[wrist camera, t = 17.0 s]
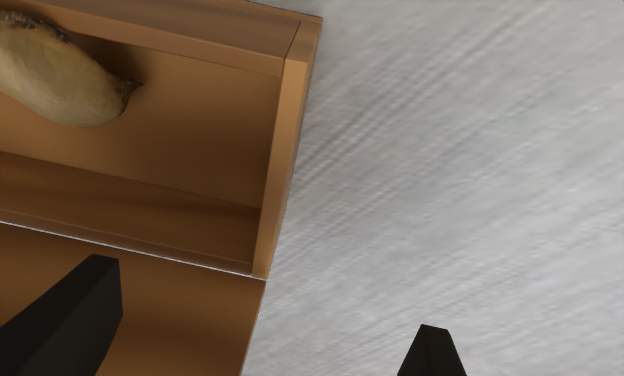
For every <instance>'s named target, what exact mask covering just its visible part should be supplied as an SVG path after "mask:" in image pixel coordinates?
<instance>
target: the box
mask: <svg viewBox="0 0 624 376" xmlns="http://www.w3.org/2000/svg"><path fill="white" fill-rule="evenodd" d="M2 10H4V11H6V12H9V13H11V12H12V11H16V12H19V13H22V14H25V15H28V16H31V17H33V18H36V19H39V20H42V21H44V22H47V23H50V24H53V25H54V26H55V27H57V28H58V29H59V30H60V31H61V32H63V33H65V34H67V35H68V36H69V37H70V38H71V39H72V40H73V41H74V43H75V44H76V46H77V47H78V48H80V49H82V50H83V51H85V52H87V53H88V54H89V56H90V58H91V60H92V61H93V60H94V59H97V60H99V61H100V62H101V64H102V65H103V66H104V67H105V68H106V71H107V72H116V73H119V76H120V78H124V77H125V78H134V79H135V81H139V82H142V83H143V84H144V86H140V87H137V90H134V91H132V92H131V95H130V97H129V101H128V105H127V107H126V109H125V111H124V112H123V114H122V115H120V116H118V117H116V118H115V119H113V120H111V121H109V122H107V123H105V124H103V125H101V126H99V127H95V128H84V127H71V126H67V125H61V124H57V123H55V122H53V121H50V120H48V119H46V118H44V117H42V116H40V115H38V114H37V113H35V112H33V111H32V110H30V109H29V108H27V107H26V106H24V105H23V104H21V103H20V102H18V101H17V100H15V99H13V98H12V97H10V96H8V95H6V94H4V93H2V92H0V221H4V222H8V223H13V224H17V225H22V226H26V227H31V228H36V229H40V230H45V231H49V232H54V233H58V234H63V235H67V236H72V237H77V238H81V239H86V240H90V241H95V242H99V243H104V244H108V245H113V246H117V247H122V248H127V249H131V250H136V251H140V252H145V253H149V254H154V255H158V256H163V257H167V258H172V259H177V260H181V261H186V262H190V263H195V264H199V265H204V266H208V267H213V268H218V269H222V270H227V271H231V272H236V273H240V274H245V275H250V274H251V276H253V277H257V278H262V279H268V276H269V272H270V268H271V264H272V261H273V257H274V253H275V249H276V245H277V242H278V238H279V234H280V230H281V226H282V223H283V219H284V215H285V210H286V205H287V200H288V195H289V189H290V184H291V179H292V174H293V169H294V164H295V159H296V154H297V149H298V144H299V139H300V133H301V128H302V123H303V118H304V113H305V108H306V103H307V98H308V93H309V88H310V82H311V77H312V72H313V67H314V62H315V57H316V52H317V47H318V42H319V37H320V32H321V26H322V21H323V19H322V18H319V17H314V16H310V15H306V14H301V13H297V12H292V11H288V10H283V9H279V8H275V7H270V6H266V5H261V4H257V3H252V2H248V1H243V0H0V12H1V11H2Z"/></svg>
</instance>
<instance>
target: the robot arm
mask: <svg viewBox="0 0 624 376" xmlns="http://www.w3.org/2000/svg"><path fill="white" fill-rule="evenodd" d="M122 317H123V305H122V292H121V279H120V267H119V259H117V258H113V257H108V256H103V255H99V254H94V253H93V254H91V255H90V256H88V257H87V258H86V259H85V260H83V261H82V262H81V263H80V264H79V265H78V266H76V267H75V268H74V269H73V270H72V271H70V272H69V273H68V274H67V275H66V276H64V277H63V278H62V279H61V280H60V281H58V282H57V283H56V284H55V285H53V286H52V287H51V288H50V289H49V290H47V291H46V292H45V293H44V294H42V295H41V296H40V297H39V298H37V299H36V300H35V301H34V302H32V303H31V304H30V305H28V306H27V307H26V308H25V309H23V310H22V311H21V312H19V313H18V314H17V315H16V316H14V317H13V318H12V319H10V320H9V321H8V322H6V323H5V324H4V325H2V326H1V327H0V376H95V374H96V373H97V371H98V369H99V367H100V366H101V364H102V362H103V360H104V358H105V357H106V354H107V352H108V350H109V348H110V345H111V343H112V341H113V339H114V336H115V334H116V331H117V329H118V327H119V324H120V322H121V319H122ZM397 376H467V375H466V372H465V370H464V368H463V365H462V363H461V360H460V358H459V355H458V353H457V350H456V348H455V345H454V343H453V340H452V338H451V335H450V333H449V332H448V330H447V329H443V328H438V327H433V326H429V325H424V324H421V326H420V328H419V330H418V332H417V334H416V336H415V339H414V341H413V343H412V345H411V347H410V349H409V351H408V353H407V355H406V357H405V359H404V361H403V363H402V365H401V367H400V370H399V372H398V374H397Z"/></svg>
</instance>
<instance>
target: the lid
mask: <svg viewBox="0 0 624 376" xmlns="http://www.w3.org/2000/svg"><path fill="white" fill-rule="evenodd" d="M93 253H94V254H99V255H103V256H108V257H113V258H117V259H119V267H120V279H121V292H122V305H123V317H122V319H121V322H120V324H119V327H118V329H117V331H116V334H115V336H114V339H113V341H112V343H111V345H110V348H109V350H108V352H107V354H106V357H105V358H104V360H103V362H102V364H101V366H100V367H99V369H98V371H97V373H96V374H95V376H241V374H242V370H243V367H244V363H245V360H246V356H247V353H248V349H249V345H250V342H251V338H252V335H253V331H254V328H255V324H256V321H257V317H258V314H259V310H260V306H261V303H262V299H263V296H264V292H265V287H266V281H263V280H259V279H254V278H250V277H245V276H241V275H236V274H232V273H227V272H223V271H218V270H213V269H209V268H204V267H200V266H195V265H191V264H186V263H182V262H177V261H172V260H168V259H163V258H159V257H154V256H150V255H145V254H141V253H136V252H132V251H127V250H122V249H118V248H113V247H109V246H104V245H100V244H95V243H91V242H86V241H81V240H77V239H72V238H68V237H63V236H59V235H54V234H50V233H45V232H41V231H36V230H31V229H27V228H22V227H18V226H13V225H9V224H4V223H0V327H1V326H2V325H4V324H5V323H6V322H8V321H9V320H10V319H12V318H13V317H14V316H16V315H17V314H18V313H19V312H21V311H22V310H23V309H25V308H26V307H27V306H28V305H30V304H31V303H32V302H34V301H35V300H36V299H37V298H39V297H40V296H41V295H42V294H44V293H45V292H46V291H47V290H49V289H50V288H51V287H52V286H53V285H55V284H56V283H57V282H58V281H60V280H61V279H62V278H63V277H64V276H66V275H67V274H68V273H69V272H70V271H72V270H73V269H74V268H75V267H76V266H78V265H79V264H80V263H81V262H82V261H83V260H85V259H86V258H87V257H88V256H90V255H91V254H93Z"/></svg>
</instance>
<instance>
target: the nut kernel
mask: <svg viewBox="0 0 624 376" xmlns="http://www.w3.org/2000/svg"><path fill="white" fill-rule="evenodd" d="M140 86H144V84H143V83H142V82H139V81H135V79H134V78H125V77H124V78H120V76H119V73H116V72H107V71H106V68H105V67H104V66H103V65H102V64H101V62H100V61H99V60H97V59H94V60H93V61H92V60H91V58H90V56H89V54H88V53H87V52H85V51H83V50H82V49H80V48H78V47H77V46H76V44H75V43H74V41H73V40H72V39H71V38H70V37H69V36H68V35H67V34H65V33H63V32H61V31H60V30H59V29H58V28H57V27H55V26H54V25H53V24H50V23H47V22H44V21H42V20H39V19H36V18H33V17H31V16H28V15H25V14H22V13H19V12H16V11H12V12H11V13H9V12H6V11H4V10H2V11H1V12H0V92H2V93H4V94H6V95H8V96H10V97H12V98H13V99H15V100H17V101H18V102H20V103H21V104H23V105H24V106H26V107H27V108H29V109H30V110H32V111H33V112H35V113H37V114H38V115H40V116H42V117H44V118H46V119H48V120H50V121H53V122H55V123H57V124H61V125H67V126H71V127H84V128H95V127H99V126H101V125H103V124H105V123H107V122H109V121H111V120H113V119H115V118H116V117H118V116H120V115H122V114H123V112H124V111H125V109H126V107H127V105H128V101H129V97H130V95H131V92H132V91H134V90H137V87H140Z"/></svg>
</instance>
